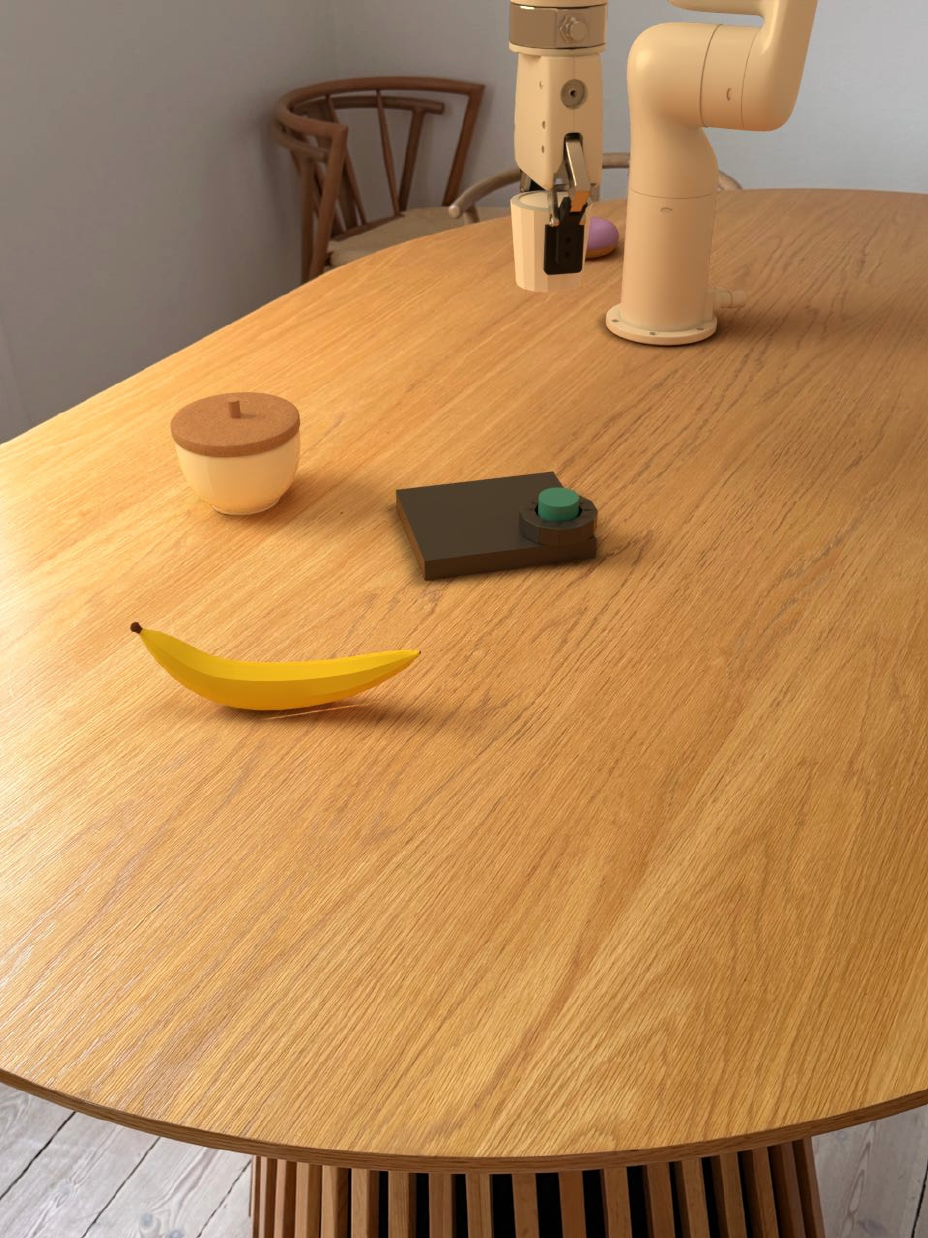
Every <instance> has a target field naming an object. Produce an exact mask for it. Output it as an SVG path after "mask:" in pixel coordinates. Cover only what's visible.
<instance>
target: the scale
mask: <svg viewBox="0 0 928 1238" xmlns="http://www.w3.org/2000/svg"><path fill="white" fill-rule="evenodd" d="M549 488H565V487H564V485H563V484H562V483H561V481H560V480H559V478H558V477H557V475H556V473H555V471H554V470H553V471H544V472H543V471H542V472H535V473H527V474H526V473H525V474H519V475H509V476H501V477H492V478H484V479H476V480H466V481H459V482H451V483H442V484H441V483H440V484H433V485H424V486H417V487H416V486H415V487H407V488H398V489H395V503H396V504H395V505H396V511H397V514H398V516H399V519H400V521H401V524H402V526H403V528H404V531H405V534H406V536H407V539H408V541H409V544H410V547H411V550H412V551H413V554H414V557H415V559H416V562H417V564H418V567H419V569H420V572H421V574H422V577H423V579H424V581H425V582H428V581H434V580H442V579H448V578H456V577H457V578H458V577H465V576H471V575H473V576H474V575H480V574H488V573H495V572H503V571H509V570H516V569H517V570H519V569H525V568H532V567H539V566H549V565H555V564H556V565H557V564H562V563H570V562H577V561H585V560H593V559H596V557H597V545H598V543H597V542H598V538H597V536H596V535H595V533H596V531H597V528H598V517H599V510H598V508H597V507H596V505H595V504H594V502H593V501H592V500H591V499H588V498H586V497H583V496H581V495H579V494H578V496H579V511H578V517H577V518H575V519H573V520H571V521H565V522H555V521H548V520H545V519H543V518H541V517H540V516H539V514H538V506H539V494H540V493H541V492H542V491H544V490H546V489H549Z"/></svg>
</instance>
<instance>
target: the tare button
mask: <svg viewBox="0 0 928 1238" xmlns="http://www.w3.org/2000/svg"><path fill="white" fill-rule="evenodd" d="M578 495H579V494H578V493H577V492H576V491H574V490H573V489H570V488H566V487H564V488H549V489H546V490H544V491H542V492H541V493H540V494H539V506H538V514H539V516H540V517H541V518H543V519H545V520H548V521H555V522H565V521H571V520H573V519H575V518H577V517H578V511H579V496H580V495H579V496H578Z"/></svg>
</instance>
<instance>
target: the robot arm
mask: <svg viewBox="0 0 928 1238" xmlns="http://www.w3.org/2000/svg"><path fill="white" fill-rule="evenodd" d="M666 1H667V2H668V3H669V4H671V5H672V6H673V7H676V8H679V9H682V10H686V11H693V12H701V13H712V14H729V15H742V16H744V15H745V16H758V17H760V18H762V19H763V24H762V26H747V25H734V24H733V25H731V24H722V23H711V22H710V23H709V22H693V21H671V22H670V21H667V22H661V23H658V24H655V25H651V26H650V27H648V28H646V29H645V30H643V31H642V32H641V33H640V34H639V35H638V36H637V37H636V39H634V41H633V43H632V44H631V47H630V50H629V53H628V57H627V64H626V88H627V98H628V109H629V123H630V124H629V125H630V152H629V153H630V156H629V172H628V173H629V174H628V187H627V189H628V190H627V202H626V203H627V205H626V218H625V233H624V249H623V262H622V263H623V264H622V279H621V293H620V303H617V304H615V305H613V306H612V307H611V308H609V309H608V310H607V312H606V314H605V325H606V328H607V329H608V330H609V331H610V332H611V333H612V334H614V335H615V336H618V337H620V338H622V339H625V340H628V341H631V342H635V343H639V344H644V345H645V344H646V345H653V346H654V345H655V346H680V345H688V344H693V343H698V342H700V341H703V340H705V339H708V338H710V337H711V336H712V335H713V334H714V333H716V329H717V327H718V318H717V315H716V314H715V313H719V312H720V310H721V309H730V310H731V309H740V308H745V307H746V304H747V294H746V291H745V290H743V289H742V290H731V291H729V290H727V288H726V286H715V287H711V286H710V285H708V281H709V272H710V264H711V263H710V262H711V253H712V244H713V234H714V226H715V217H716V209H717V208H716V206H717V197H718V189H719V180H720V172H719V171H720V170H719V169H720V168H719V163H718V158H717V156H716V153H715V150H714V148H713V146H712V143H711V141H710V140H709V138H708V136H707V135H706V133H705V131H704V129H703V128H705V129H706V128H714V129H725V130H736V131H745V132H746V131H747V132H761V133H763V132H764V133H765V132H771V131H776V130H779V129H780V128H782V127H783V126H784V125H785V124H786V123H787V121H788V120H789V119H790V117H791V116H792V114H793V111H794V109H795V106H796V104H797V100H798V97H799V93H800V87H801V84H802V80H803V75H804V69H805V65H806V60H807V55H808V51H809V46H810V41H811V36H812V32H813V27H814V22H815V17H816V12H817V6H818V4H819V3H818V2H819V0H666ZM608 13H609V0H509V25H508V28H509V29H508V50H509V51H511V52H513V53H517V54H518V57H517V67H516V83H515V84H516V85H515V86H516V87H515V98H514V99H515V101H514V119H513V120H514V121H513V123H514V126H513V145H514V146H513V147H514V148H513V149H514V150H513V151H514V159H515V163H516V165H517V166H518V168H519V172H520V174H521V176H520V182H519V186H518V187H519V188H518V189H519V190H518V192H519V193H518V194H521V193H524V192H531V191H538V190H546V191H547V202H548V212H549V222H550V224H545V237H544V266H543V270H544V272H545V273H546V274H547V275H558V274H571V273H579V272H581V270H582V265H583V246H584V227H585V223H586V211H585V210H586V208H587V206H588V203H586V202H587V199H588V197H590V195H591V190H592V189H594V188H597V187H598V186H600V184H601V182H602V179H603V158H604V157H603V154H604V153H603V152H604V85H603V69H602V68H603V67H602V57H601V53H603V52H605V51H606V50H607V35H608V33H607V32H608V31H607V30H608V18H609V17H608ZM563 179H567V180H568V183H557V180H563ZM562 194H568V197H563V199H562V201H561V204H560V206H559V207H558V196H557V195H562Z"/></svg>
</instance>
